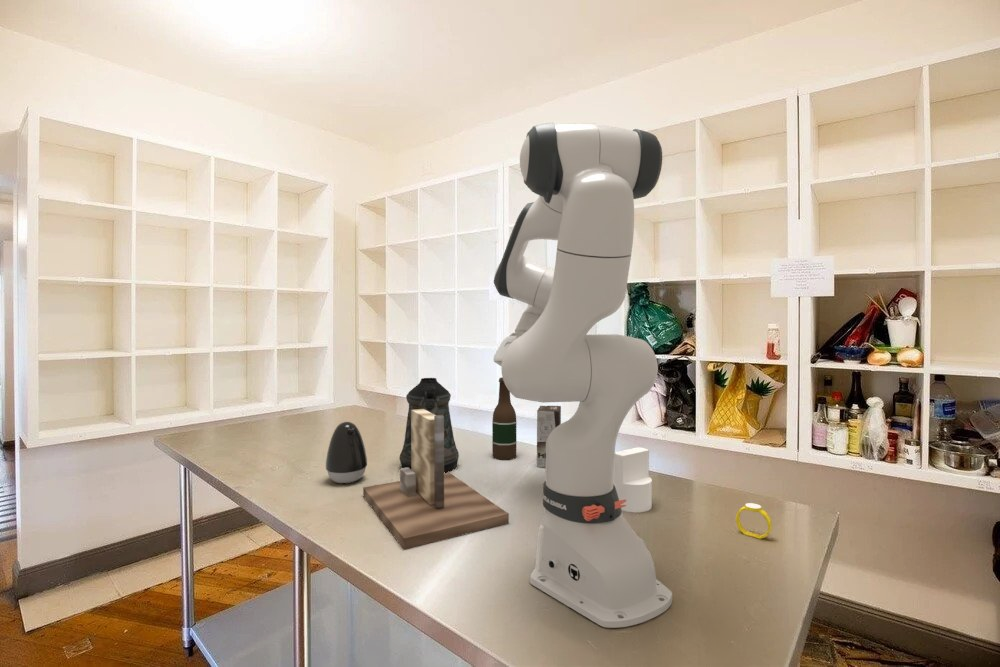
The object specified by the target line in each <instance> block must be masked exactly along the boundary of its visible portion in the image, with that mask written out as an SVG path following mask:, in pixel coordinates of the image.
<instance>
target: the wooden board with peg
mask: <svg viewBox="0 0 1000 667" xmlns="http://www.w3.org/2000/svg"><path fill="white" fill-rule="evenodd" d="M362 488H363V489H362V493H363V494H362V496H363V495H364V496H363V497H364V499H365V498H366V499H365V500H366V501H367V502H369V503H368V504H369V505H370V507H371V506H372V507H373V508H372V507H371V508H372V509H373V511H374V510H375V511H374V512H375V513H376V515H377V514H378V515H377V516H378V517H379V519H380V520H381V521H382V522H383V524H384V525H385V526H386V527H388V528H387V529H388V530H389V531H390V533H391V535H393V537H394V538H395V539H396V541H397V542H398V543H399V545H400V546H401V547H402V549H403V550H407V549H412V548H417V547H419V546H423V545H422V544H424V545H428V544H431V543H430V542H432V543H435V541H436V542H439V540H440V541H443V540H442V539H444V540H447V539H446V538H448V539H451V538H450V537H452V538H454V537H453V536H456V537H459V536H458V535H460V536H463V535H462V534H464V535H466V534H465V533H468V534H471V533H470V532H472V533H475V532H474V531H476V532H479V531H478V530H480V531H483V530H482V529H484V530H487V529H486V528H488V529H492V528H496V527H500V526H503V525H508V524H509V522H510V517H509V513H508V512H507V511H506V510H504V509H503V508H501V507H500V506H498V505H497V504H495V503H494V502H492V501H491V500H490V499H488V498H487V497H486V496H484V495H482V494H481V493H479V491H476V489H474V488H473V487H472V486H469V485H468V484H467V483H466V482H464V481H463V480H462V479H460V478H458V477H456V476H455V475H453V474H452V473H450V472H447V473H444V507H442V508H436V507H435V504H432V505H430V504H429V503H428V502H427V501H426V500H425V499H424V498H423V497H422V496H421V495H420V494H419V493H418V492H417V491H416V473H415V472H413V471H412V470H411V469H410V468H408V467H407V468H402V467H401V468H399V480H396V481H391V482H385V483H379V484H375V485H369V486H368V485H367V486H363V487H362ZM491 527H492V528H491ZM427 543H428V544H427Z"/></svg>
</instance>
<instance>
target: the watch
mask: <svg viewBox="0 0 1000 667" xmlns="http://www.w3.org/2000/svg"><path fill="white" fill-rule="evenodd" d="M746 510H747V511H749V512H754V513H757V512H759V514H760V515H762V517H764V519H765V521H766V522H767V531H766V532H764V533H763V534H758V533H755V532H751V531H748V530H746V529H745V528H744V526H743V525H742V522H741V520H740V515H741V513H742V512H743V511H746ZM735 523H736V526H737V529H738V530H739V531H740V532H741V534H743V535H744V536H748V537H752V538H756V539H760V540H762V539H765V538H766V537H768V535H769V534H770V532H771V530H772V528H773V526H772V525H773V524H772V518H770V516H769V515H768V513H767V512H766V511H765V510H764V509H763V508H762V506H761V505H760V504H757V503H753V502H748V503H747V502H746V503H745V504H744V506H742V507H741V508H740V509H739V510H738V511H737V513H736V515H735Z"/></svg>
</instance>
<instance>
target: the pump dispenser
mask: <svg viewBox="0 0 1000 667" xmlns="http://www.w3.org/2000/svg"><path fill="white" fill-rule="evenodd" d="M327 448H328V449H327V451H326V452H327V453H326V459H325V470H326V471H327V475H328V477H329V478H330V480H332V481H333V482H335V483H337V484H342V483H346V484H351V482H352V483H354V482H356V481H358V480H360V479H361V478H362V476H364V474H365V472H366V468H367V466H368V456H367V450H366V447H365V443H364V438H363V437H362V434H361V432H360V430H359V428H358V427H357V425H355V423H354V422H351V421H343V422H340V423H339V424H338V425H337V426H336V427H335V429H334V431H333V433H332V435H331V438H330V440H329V444H328V447H327Z"/></svg>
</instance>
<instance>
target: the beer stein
mask: <svg viewBox="0 0 1000 667" xmlns="http://www.w3.org/2000/svg"><path fill="white" fill-rule="evenodd" d="M451 396H452V395H451V393H450V391H449V390H447V389H446V388H445V387H444V386H443V385H442V384H441V383H440V382H438V380H437V378H436V377H422V378H421V379H420V381H419V383H418V384H416V386H414V387H413V388H412V389H410V391H409V392H408V393H407V394H406V396H405V397H406V398H405V399H406V401H407V404H408V413H407V416H406V417H407V418H406V426H405V434H404V441H403V446H402V450H401V452H400V454H399V461H400V466H401V468H407V467H408V468H410V469H411V410H416V409H425V410H427V411H429V412H431V413H433V414H435V415H443V416H444V472H447V473H449V472H451V471H450V470H452V471H454V470H455V469H456V468H457V467H458V462H459V456H460V454H459V450H458V448H457V444H456V441H455V438H454V432H453V424H452V420H451V414H450V412H451V411H450V406H449V404H450V401H451ZM453 469H454V470H453ZM448 471H449V472H448Z"/></svg>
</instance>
